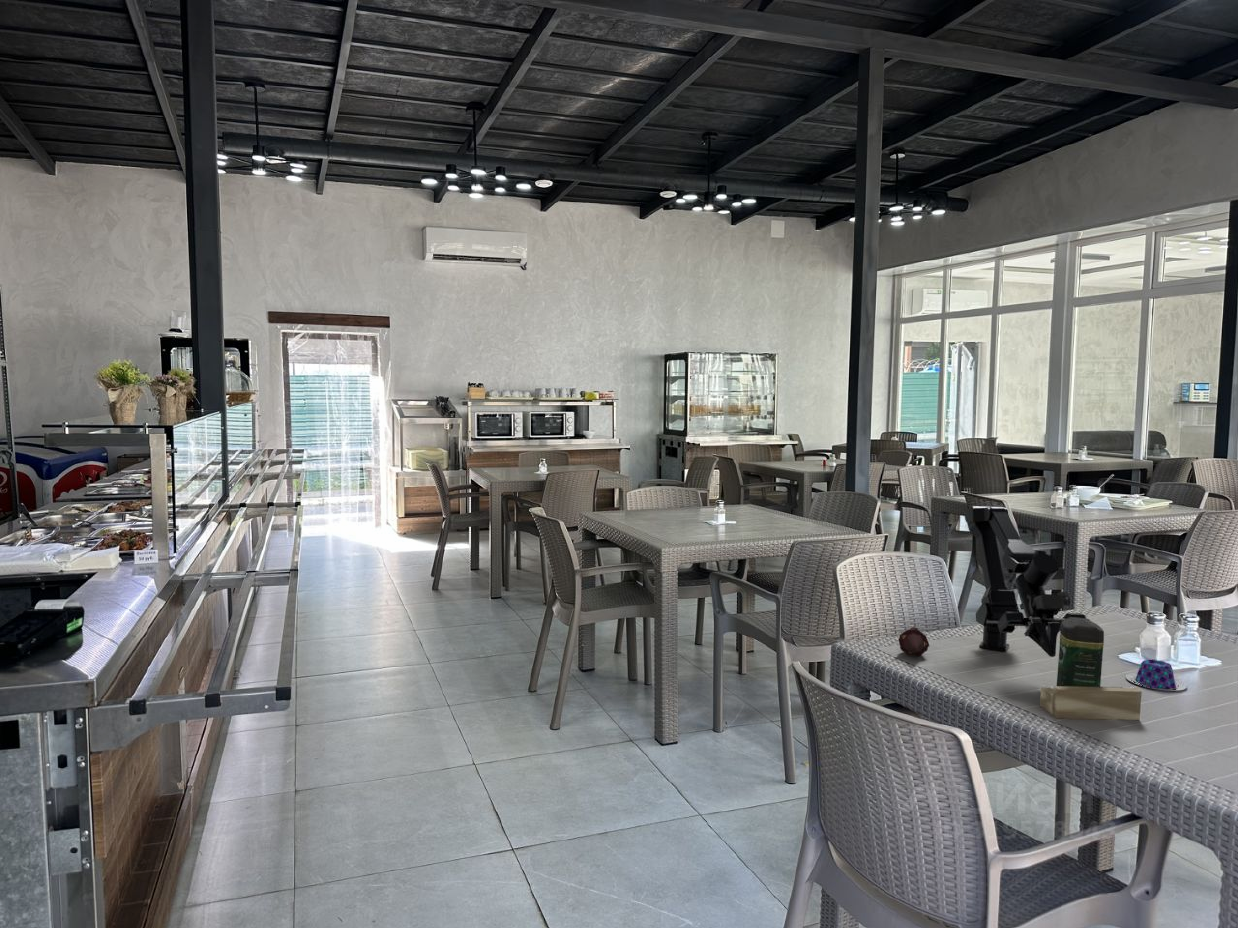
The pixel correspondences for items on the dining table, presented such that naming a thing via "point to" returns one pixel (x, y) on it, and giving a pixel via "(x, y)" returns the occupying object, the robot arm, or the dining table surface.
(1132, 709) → the block
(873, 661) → the dining table surface
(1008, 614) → the robot arm
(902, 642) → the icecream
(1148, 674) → the purple patterned hat
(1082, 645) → the coffee jar
